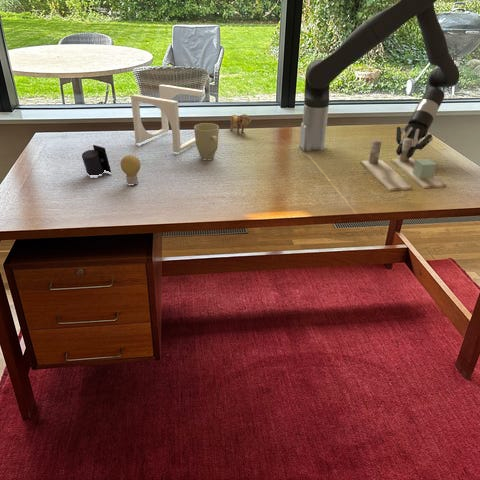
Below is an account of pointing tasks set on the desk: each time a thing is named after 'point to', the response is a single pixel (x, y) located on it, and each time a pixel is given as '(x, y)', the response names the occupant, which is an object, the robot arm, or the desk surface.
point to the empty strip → (384, 170)
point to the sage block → (424, 168)
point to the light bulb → (131, 168)
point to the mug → (206, 139)
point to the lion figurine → (239, 122)
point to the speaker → (96, 160)
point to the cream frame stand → (163, 114)
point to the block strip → (408, 167)
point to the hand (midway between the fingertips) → (403, 155)
